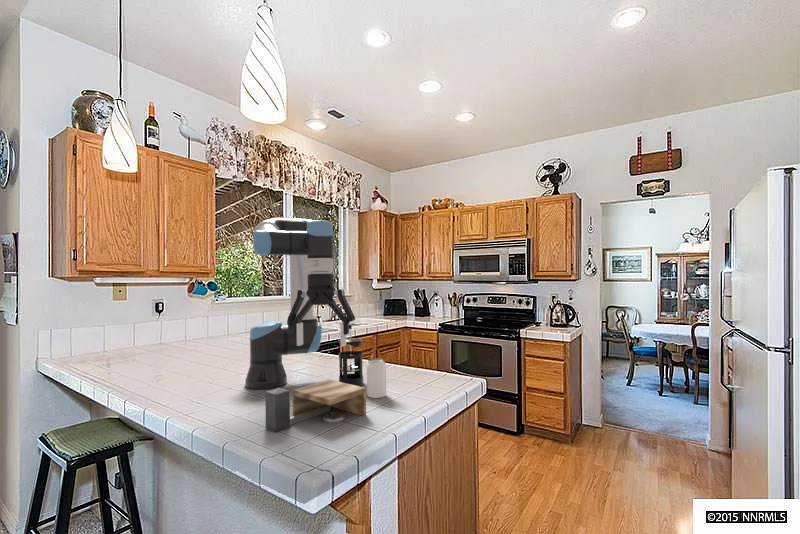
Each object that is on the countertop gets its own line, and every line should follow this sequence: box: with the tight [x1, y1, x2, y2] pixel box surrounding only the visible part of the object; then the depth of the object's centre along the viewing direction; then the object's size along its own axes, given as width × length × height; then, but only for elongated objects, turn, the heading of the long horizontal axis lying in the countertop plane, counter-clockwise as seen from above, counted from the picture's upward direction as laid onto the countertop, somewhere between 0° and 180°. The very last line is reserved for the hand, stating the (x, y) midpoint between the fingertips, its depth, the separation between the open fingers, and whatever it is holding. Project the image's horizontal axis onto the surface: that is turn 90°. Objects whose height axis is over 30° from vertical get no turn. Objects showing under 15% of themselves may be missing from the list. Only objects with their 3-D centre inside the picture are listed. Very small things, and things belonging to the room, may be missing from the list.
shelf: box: [291, 379, 367, 417], centre depth 118 cm, size 16×14×8 cm
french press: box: [338, 322, 365, 387], centre depth 152 cm, size 12×9×23 cm
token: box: [322, 411, 346, 424], centre depth 115 cm, size 6×6×1 cm
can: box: [366, 358, 387, 399], centre depth 137 cm, size 6×6×12 cm
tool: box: [264, 387, 332, 434], centre depth 116 cm, size 4×20×10 cm, turn 142°
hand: (321, 345), depth 119 cm, fingers open, 13 cm apart
